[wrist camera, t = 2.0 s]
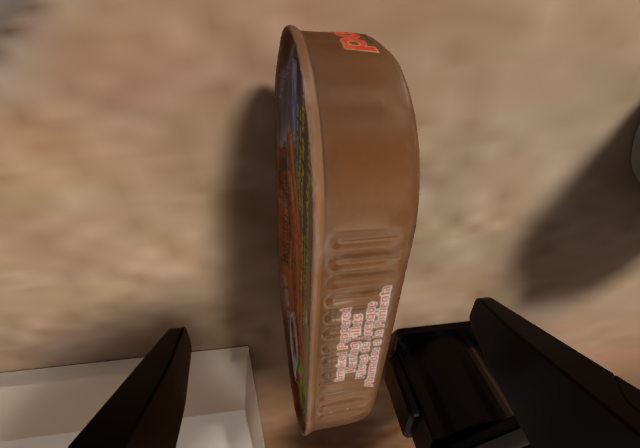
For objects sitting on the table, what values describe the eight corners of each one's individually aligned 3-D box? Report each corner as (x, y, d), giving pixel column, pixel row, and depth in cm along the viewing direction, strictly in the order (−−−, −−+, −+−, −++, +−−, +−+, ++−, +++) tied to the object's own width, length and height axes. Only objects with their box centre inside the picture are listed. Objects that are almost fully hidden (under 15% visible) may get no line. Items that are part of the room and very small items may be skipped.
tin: (272, 21, 12) (281, 31, 5) (357, 26, 12) (485, 41, 5) (280, 314, 20) (287, 479, 13) (331, 310, 20) (366, 468, 13)
